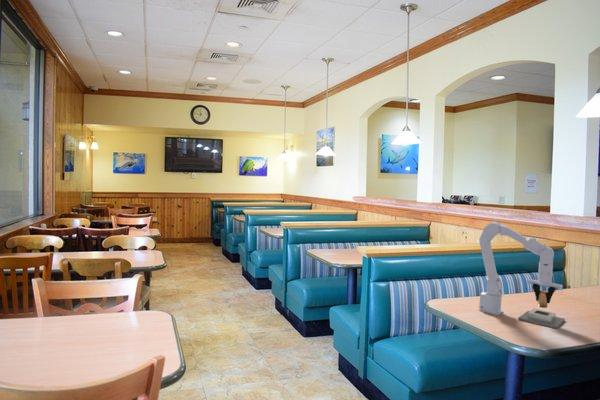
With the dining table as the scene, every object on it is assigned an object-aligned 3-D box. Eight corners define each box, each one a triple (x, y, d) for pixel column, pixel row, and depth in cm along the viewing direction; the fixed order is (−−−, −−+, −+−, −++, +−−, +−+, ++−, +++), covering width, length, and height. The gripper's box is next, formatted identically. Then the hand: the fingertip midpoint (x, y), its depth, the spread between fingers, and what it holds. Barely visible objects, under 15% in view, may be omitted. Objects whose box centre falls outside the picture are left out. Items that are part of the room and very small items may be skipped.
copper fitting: (536, 306, 213) (537, 291, 212) (539, 304, 215) (540, 289, 215) (545, 308, 210) (546, 293, 209) (548, 306, 213) (549, 291, 212)
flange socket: (518, 319, 213) (518, 312, 212) (528, 312, 225) (528, 305, 224) (556, 328, 202) (557, 321, 202) (564, 320, 214) (565, 313, 214)
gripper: (525, 271, 214) (523, 299, 214) (560, 277, 204) (558, 306, 205) (530, 269, 219) (528, 297, 220) (564, 274, 209) (562, 303, 210)
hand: (543, 301), depth 213 cm, fingers closed on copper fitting, 4 cm apart
